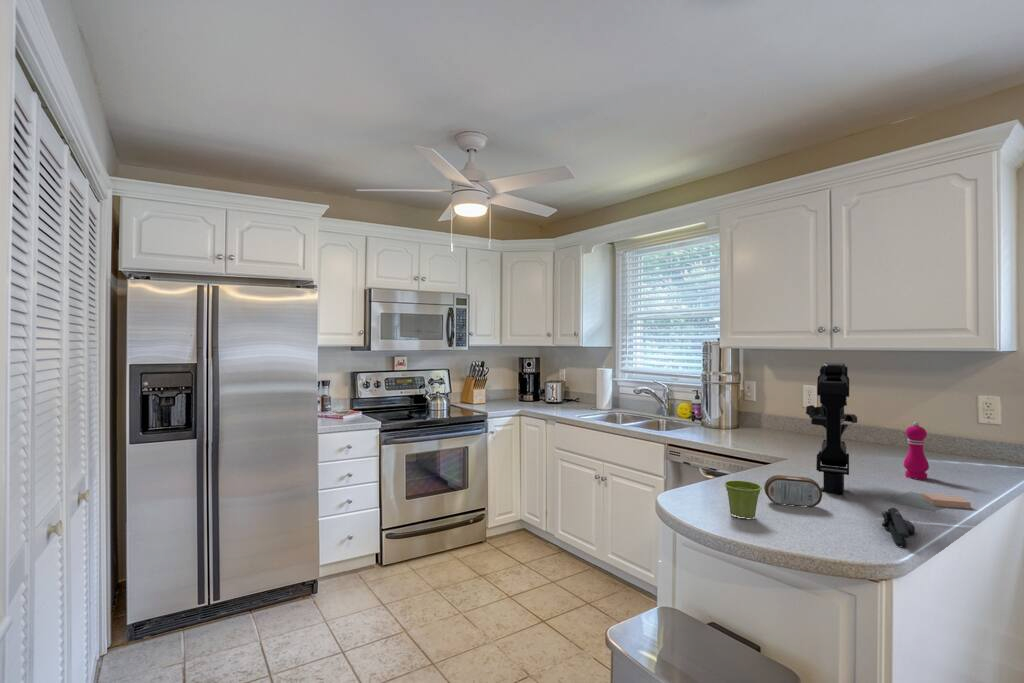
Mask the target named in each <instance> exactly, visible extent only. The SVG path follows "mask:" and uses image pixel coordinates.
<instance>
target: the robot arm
mask: <svg viewBox="0 0 1024 683" xmlns="http://www.w3.org/2000/svg"><path fill="white" fill-rule="evenodd" d="M848 370H849V369H848V366H846V363H845V362H824V363H823V365H821V367H820V368H819V375H818V376H817V383H816V384H817V385H816V394H817V397H818V396H819V404H820V405H819V406H815V405H813V404H812V405H807V406H806V409H805V414H806V415H808V416H809V419H811V420H810V424H811V425H815V426H822V427H823V428H824V429H825V431H826V434H825V435H826V439H823V440H822V444H821V450H819V451H818V453H817V454H816V465H815V466H816V471H818V473H819V472H820V473H823V476H822V478H823V487H820V488H821V490H822V492H826V493H830V494H835V495H843V494H844V493H846V492H850V490H849V489H845V475H846V476H850V453H847V446H846V445H847V444H846V442H845V441H843V440H842V435H843V434H844V432H845V431H846V429H847V428H848V427H849V424H848V423H847V424H845V422H849V423H852V424H857V423H858V416H856V414H853V413H845V406H848V403H847V398H849V397H850V377H849V375H848Z"/></svg>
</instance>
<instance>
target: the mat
mask: <svg viewBox="0 0 1024 683" xmlns="http://www.w3.org/2000/svg"><path fill="white" fill-rule="evenodd" d="M882 501H886V502H890V503H895V504H899V505H903V506H907V507H912V508H916V509H921V510H926V511H929V512H933V513H934V512H936V511H939V510H943V509H945V508H946V507H942V506H933V505H931V504H930V503H928V502H926V501H925V500H923V499H922V493H918V492H914V491H907V492H904V493H900V494H896V495H894V496H889V497H887V498H883V499H882Z"/></svg>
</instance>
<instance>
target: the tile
mask: <svg viewBox="0 0 1024 683" xmlns="http://www.w3.org/2000/svg"><path fill="white" fill-rule="evenodd" d="M921 494H922V499H923V500H925V501H926V502H928V503H930V504H931V505H933V506H942V507H945V508H954V509H956V508H958V509H972V508H971V504H972V503H971V501H969V500H967V499H965V498H963V497H961V496H959V495H952V494H951V495H950V494H940V493H939V494H938V493H937V494H936V493H925V492H923V493H921Z"/></svg>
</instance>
